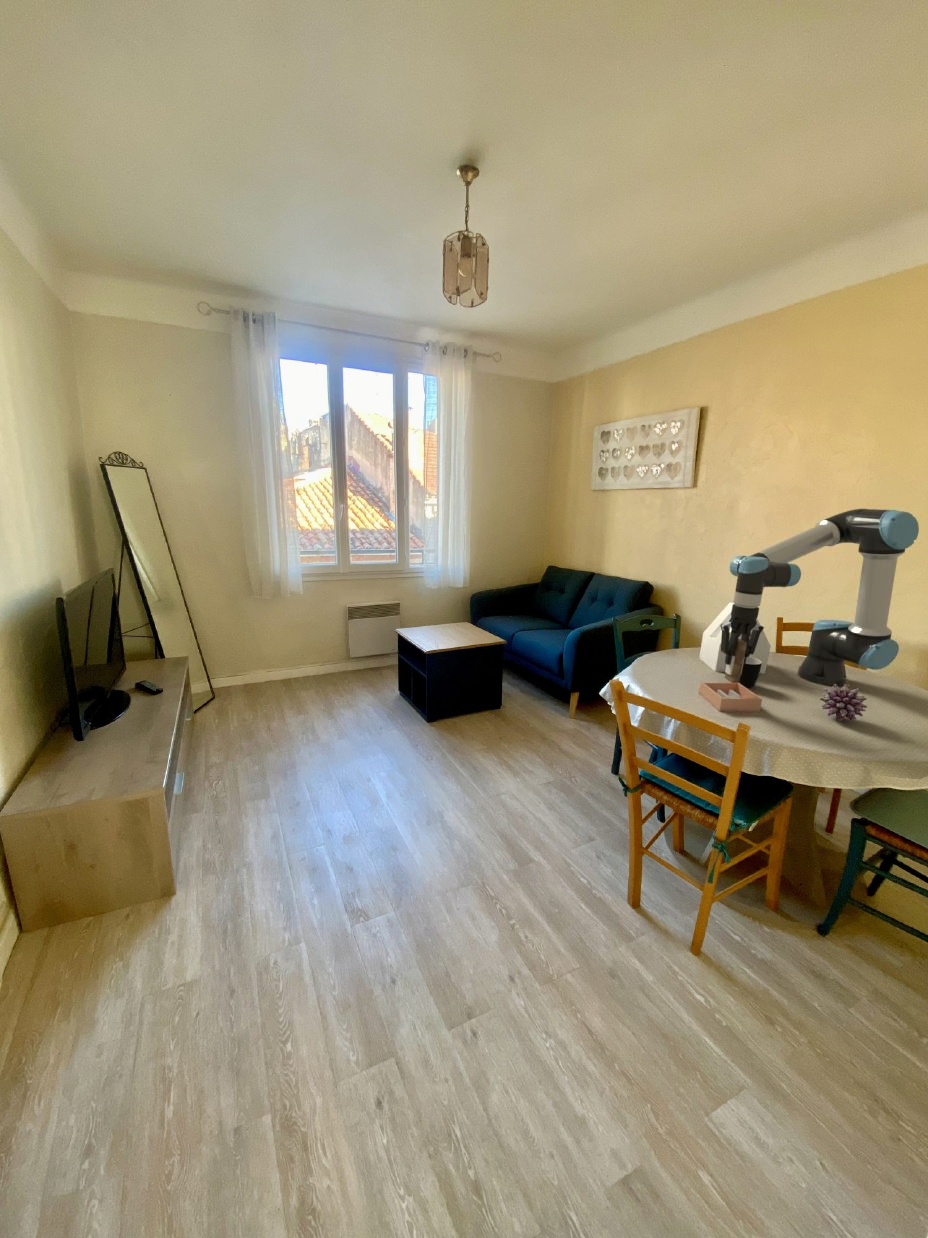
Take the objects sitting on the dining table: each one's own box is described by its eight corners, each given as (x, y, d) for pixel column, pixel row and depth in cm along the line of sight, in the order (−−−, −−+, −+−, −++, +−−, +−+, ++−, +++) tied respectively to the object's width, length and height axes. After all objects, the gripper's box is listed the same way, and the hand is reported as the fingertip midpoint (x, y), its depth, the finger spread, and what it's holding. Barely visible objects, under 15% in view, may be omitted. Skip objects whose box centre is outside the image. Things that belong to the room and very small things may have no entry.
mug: (761, 691, 171) (766, 665, 169) (734, 689, 172) (739, 663, 170) (746, 678, 183) (751, 653, 180) (722, 676, 184) (726, 652, 181)
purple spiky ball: (848, 731, 144) (858, 695, 140) (807, 714, 154) (815, 680, 151) (871, 725, 148) (880, 689, 145) (829, 708, 159) (837, 675, 155)
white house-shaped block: (715, 671, 189) (725, 611, 182) (699, 658, 204) (708, 601, 197) (765, 673, 188) (777, 612, 181) (745, 660, 203) (756, 603, 196)
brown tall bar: (731, 677, 162) (739, 638, 158) (739, 682, 158) (746, 642, 154) (724, 677, 162) (731, 638, 158) (731, 682, 157) (739, 642, 154)
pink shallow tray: (736, 694, 168) (738, 682, 167) (759, 711, 156) (762, 698, 154) (698, 693, 168) (700, 682, 167) (719, 711, 155) (721, 698, 154)
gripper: (762, 602, 156) (748, 669, 163) (716, 602, 156) (704, 668, 162) (777, 608, 149) (762, 678, 156) (728, 607, 149) (716, 677, 155)
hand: (733, 673), depth 159 cm, fingers closed on brown tall bar, 2 cm apart
